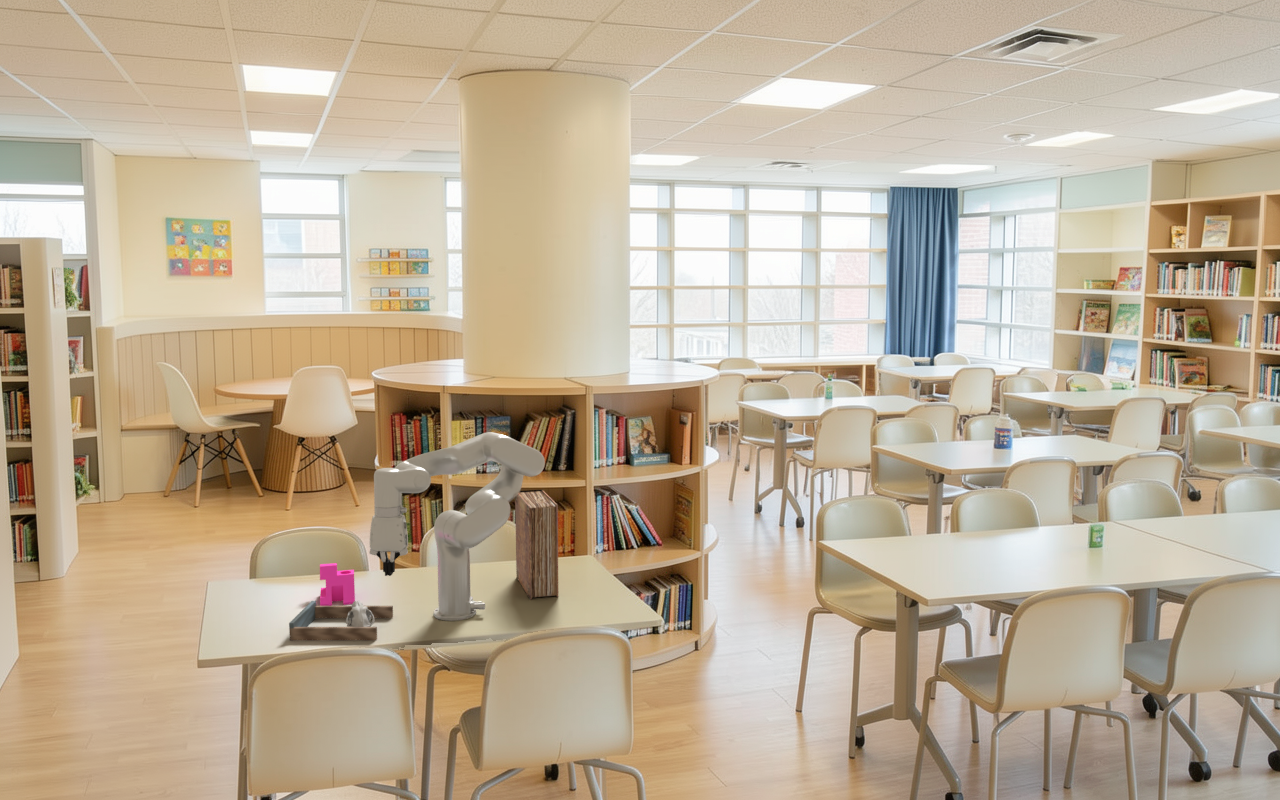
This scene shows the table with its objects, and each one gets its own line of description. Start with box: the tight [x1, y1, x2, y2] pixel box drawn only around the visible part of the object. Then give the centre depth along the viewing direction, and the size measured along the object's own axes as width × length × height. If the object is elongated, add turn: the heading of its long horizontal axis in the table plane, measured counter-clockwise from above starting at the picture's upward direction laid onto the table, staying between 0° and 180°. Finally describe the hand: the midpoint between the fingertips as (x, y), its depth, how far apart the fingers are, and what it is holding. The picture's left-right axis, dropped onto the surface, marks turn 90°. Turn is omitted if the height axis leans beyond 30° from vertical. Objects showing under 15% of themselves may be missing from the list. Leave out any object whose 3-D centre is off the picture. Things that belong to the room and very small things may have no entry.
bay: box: [288, 600, 394, 641], centre depth 280 cm, size 24×19×5 cm
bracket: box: [319, 562, 356, 606], centre depth 305 cm, size 12×10×10 cm
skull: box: [345, 600, 375, 627], centre depth 280 cm, size 8×9×12 cm
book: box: [514, 489, 559, 601], centre depth 317 cm, size 25×9×30 cm, turn 17°
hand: (389, 574), depth 278 cm, fingers closed
